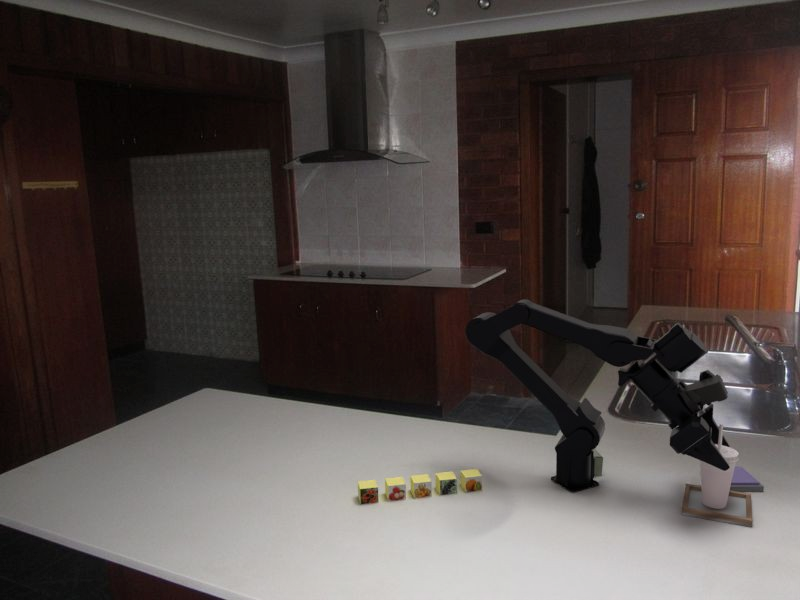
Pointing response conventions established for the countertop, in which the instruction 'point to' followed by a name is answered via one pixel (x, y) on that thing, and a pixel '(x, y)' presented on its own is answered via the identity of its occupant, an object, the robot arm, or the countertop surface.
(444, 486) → the fruit picture blocks
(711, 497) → the smoothie
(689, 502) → the marked square
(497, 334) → the robot arm
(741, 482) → the ink pad
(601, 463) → the medication box
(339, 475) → the countertop surface
